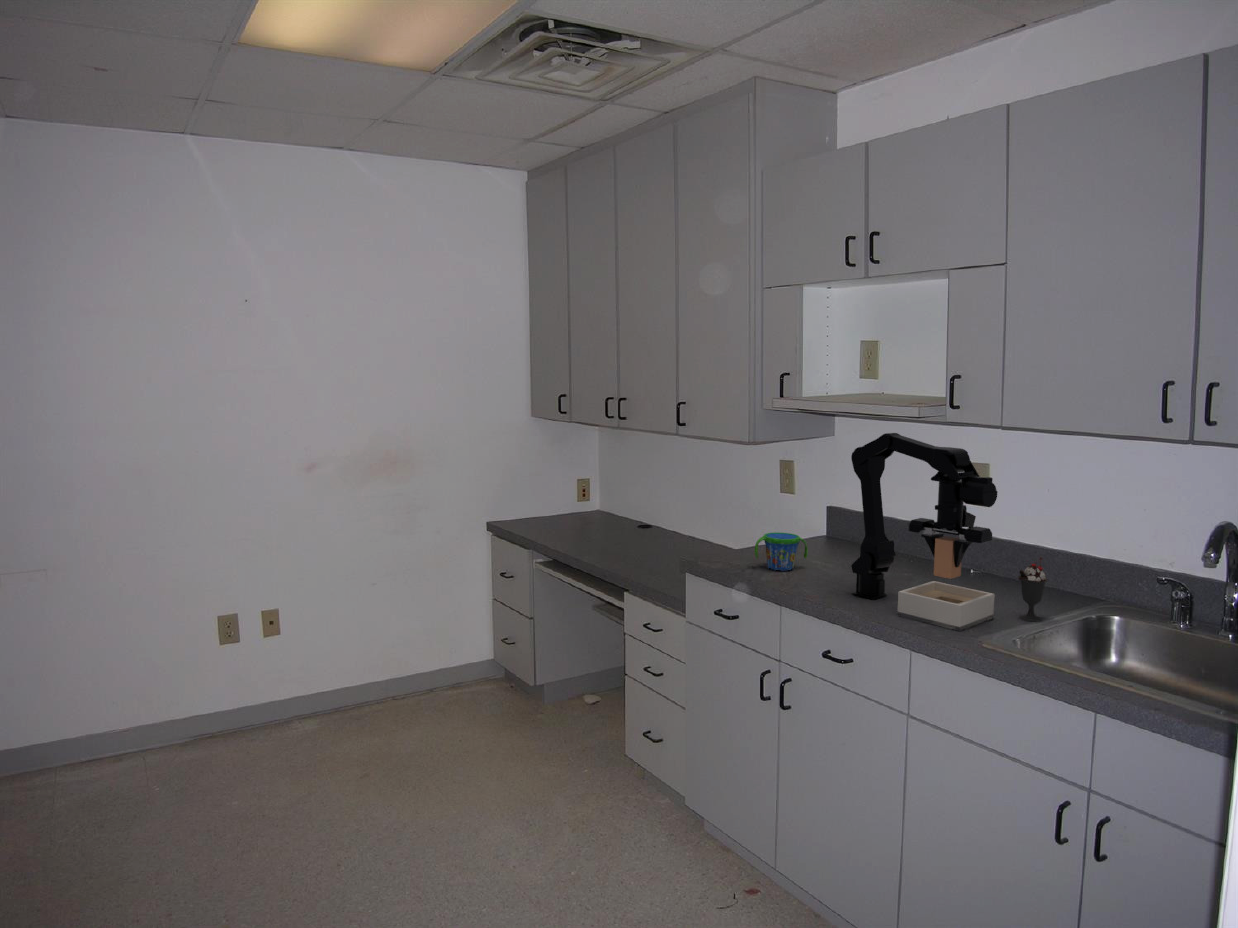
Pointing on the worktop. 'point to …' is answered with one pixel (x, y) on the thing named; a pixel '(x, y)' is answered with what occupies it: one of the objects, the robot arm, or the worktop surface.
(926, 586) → the socket box
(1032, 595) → the sundae
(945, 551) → the peg
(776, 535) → the snack cup
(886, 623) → the worktop surface
